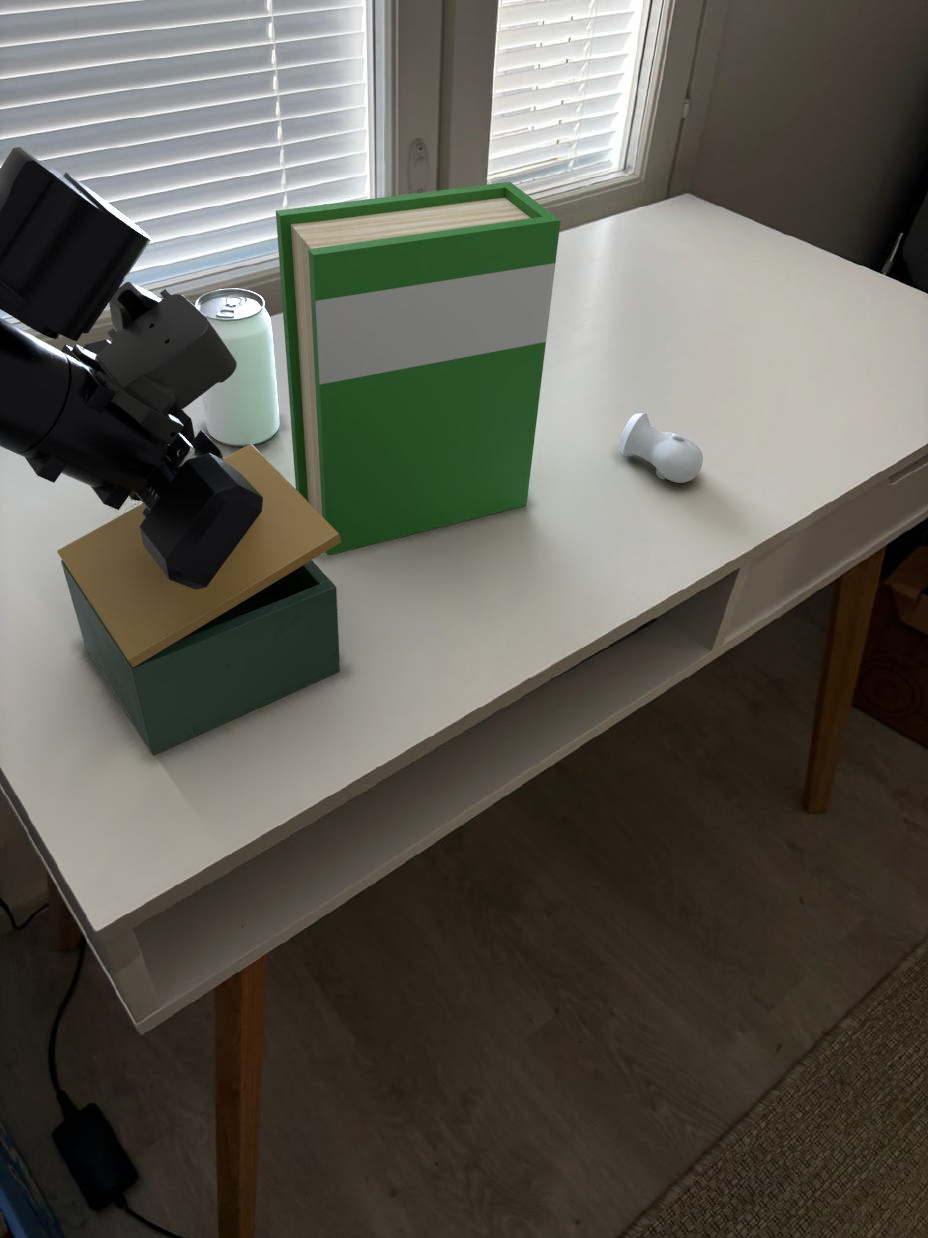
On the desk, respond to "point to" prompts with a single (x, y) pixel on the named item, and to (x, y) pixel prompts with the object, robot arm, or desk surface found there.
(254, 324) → the can
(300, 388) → the hardback book
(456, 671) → the desk surface
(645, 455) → the smooth white sculpture
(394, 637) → the desk surface
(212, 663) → the dark green open box
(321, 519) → the lid
